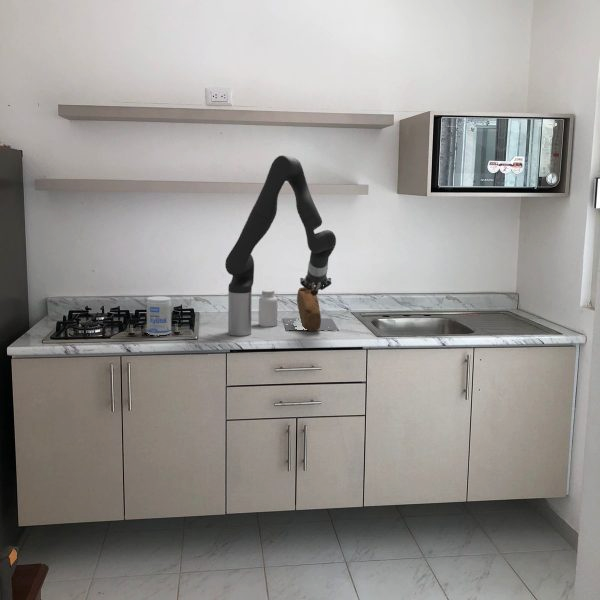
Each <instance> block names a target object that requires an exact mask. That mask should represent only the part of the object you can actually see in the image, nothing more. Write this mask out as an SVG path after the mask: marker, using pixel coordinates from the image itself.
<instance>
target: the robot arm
mask: <svg viewBox="0 0 600 600" xmlns="http://www.w3.org/2000/svg"><path fill="white" fill-rule="evenodd" d="M285 182H287V183H288V184H289V186H290V187H291V188H292V191H293V194H294V196H295V205H296V212H297V214H298V216H299V219H300V220H301V221H300V222H301V223H302V225H303V227H304V230H305V231H304V232H305V236H306V242H307V247H308V249H309V250H310V255H309V261H308V264H307V265H308V266H307V273H306V275H305V278H303V277H301V278H300V279H299V282H300V285H301V286H302V287H305V288H306V289H307V290H310V289H311V294H312V296H316V295H318V294H319V290H320V291H323V290H325V288H328V287H329V286H331V285H332V278H331V277H327V273H328V269H329V258H330V256H331V254H332V253H333V251H334V250H335V247H336V244H337V237H336V235H335V233H334V232H333V231H332V230H329V229H325V230H322V231H319V232H316V233H315V230H317V229H318V228H319V227H321V225H322V224H323V220H322V217H321V215H320V213H319V211H318V208H317V206H316V205H315V202H314V200H313V197H312V195H311V192H310V189H309V186H308V182H307V180H306V176H305V172H304V169H303V166H302V164H301V161H299V159H297V158H296V157H292V156H288V155H285V154H284V155H279V156H277V157H275V158H274V160H273V162H272V163H271V165H270V167H269V171H268V173H267V175H266V179H265V181H264V184H263V187H262V188H261V191H260V193H259V195H258V197H257V198H256V199H257V200H256V201H255V203H254V205H253V207H252V209H251V211H250V213H249V215H248V217H247V220H246V221H245V224H244V226H243V228H242V230H241V232H240V234H239V236H238V239H237V241H236V242H235V244H234V246H233V247H232V249H231V250H230V252H229V253H228V255H227V257H226V258H225V264H224V265H225V269H226V272H227V274H229V275H231V276H232V279H231V280H230V282H229V284H228V288H227V290H228V300H227V301H228V306H227V307H228V309H227V311H228V313H227V314H228V315H227V317H228V318H227V320H228V321H227V322H228V323H227V325H228V329H227V331H228V332H227V333H228V334H227V335H228V336H236V337H237V336H238V337H239V336H240V337H241V336H249V335H251V334H252V292H253V291H252V290H253V289H252V288H253V285H254V279H255V277H254V276H255V261H254V258H253V255H252V253H253V251H254V249H255V247H256V246H257V245H258V243H259V242H260V241H261V240H262V239H263V238H264V237H265V235H266V234H267V233H268V231H269V230H270V228H271V226H272V224H273V222H274V220H275V217H276V215H277V211H278V198H279V194H280V192H281V189H282V188H283V185H284V184H285Z"/></svg>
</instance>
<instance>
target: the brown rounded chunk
mask: <svg viewBox="0 0 600 600" xmlns="http://www.w3.org/2000/svg"><path fill="white" fill-rule="evenodd" d="M296 302H297V309H298V314H299V318H300V319H301V323H302V326H303V327H304V328H305V329H307V330H309V331H308V332H315V331H314V330H318V329H319V328H320V325H321V318H322V315H321V310H320V304H319V298H318V294H316V296H312V294H311V289H310V290H307V289H306V288H305V287H304V286H302V287H300V288H298V291H297V296H296Z"/></svg>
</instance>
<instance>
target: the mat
mask: <svg viewBox="0 0 600 600" xmlns="http://www.w3.org/2000/svg"><path fill="white" fill-rule="evenodd" d="M299 318H300V317H298V320H299ZM296 319H297V317H293V318H292V317H291V318H289V317H287V318H286V317H285V318H284V317H283V319H282V322H283V324H284V325H285V326H284V328H286V329H285V332H290V331H289V330H297V329H295V327H297V326H294V325H293V323H294V321H296ZM290 320H292V321H290ZM288 321H289V322H288ZM291 323H292V324H291ZM286 324H288V325H286ZM328 327H329V328H328ZM303 330H304V329H303ZM318 330H337V331H336V332H340V329H339V328H338V326H337V324H336V322H335V321H334V320H333V318H332V317H330V318H327V317H321V325H320V328H319V329H318ZM318 330H315V331H314V332H319V331H318Z"/></svg>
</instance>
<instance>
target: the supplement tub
mask: <svg viewBox="0 0 600 600" xmlns="http://www.w3.org/2000/svg"><path fill="white" fill-rule="evenodd" d="M147 333H148V334H150V335H158V336H159V335H166V334H169V333H172V298H171V297H169V296H163V295H162V296H161V295H160V296H159V295H157V296H148V297H147V298H146V334H147ZM148 334H147V335H148ZM150 335H149V336H150Z"/></svg>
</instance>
